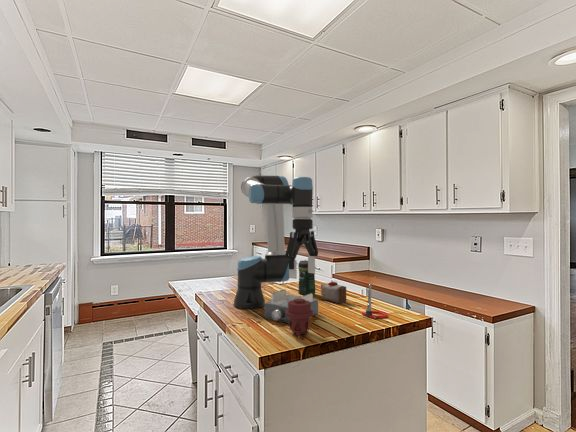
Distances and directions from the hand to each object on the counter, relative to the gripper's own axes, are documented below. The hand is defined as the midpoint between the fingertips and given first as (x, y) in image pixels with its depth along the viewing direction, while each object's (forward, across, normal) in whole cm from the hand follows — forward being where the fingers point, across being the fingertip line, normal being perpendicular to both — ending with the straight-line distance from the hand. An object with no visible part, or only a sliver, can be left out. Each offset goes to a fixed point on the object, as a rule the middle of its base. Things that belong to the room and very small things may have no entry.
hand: (302, 275), depth 122 cm
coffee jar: (+21, +54, +30) cm, 65 cm away
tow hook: (+21, +35, -16) cm, 44 cm away
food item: (+21, +49, +11) cm, 54 cm away
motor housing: (+21, +13, +14) cm, 29 cm away
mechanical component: (+21, -1, +1) cm, 21 cm away
